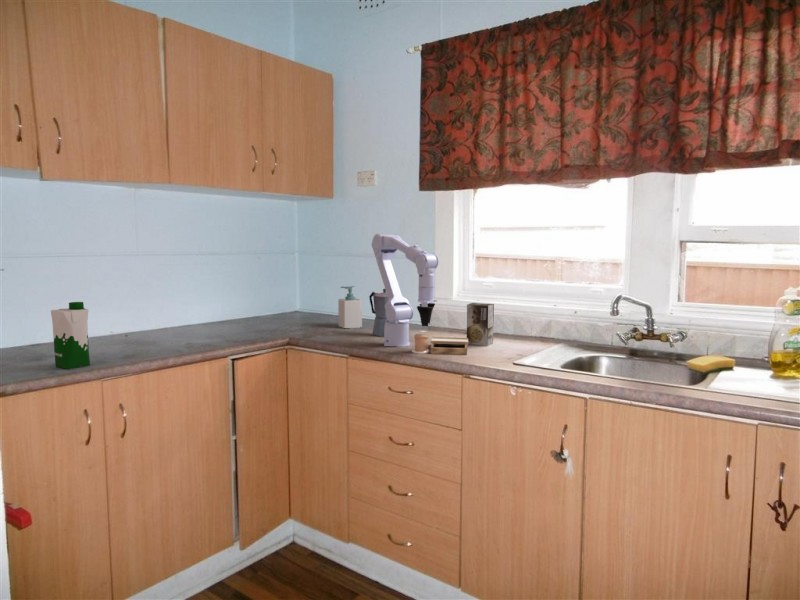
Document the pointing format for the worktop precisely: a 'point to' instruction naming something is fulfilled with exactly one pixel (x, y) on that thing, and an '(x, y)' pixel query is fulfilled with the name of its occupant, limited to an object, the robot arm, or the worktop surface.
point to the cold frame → (448, 349)
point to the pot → (420, 342)
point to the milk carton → (71, 336)
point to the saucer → (420, 352)
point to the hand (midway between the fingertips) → (425, 324)
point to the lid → (449, 340)
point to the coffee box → (480, 323)
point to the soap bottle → (350, 311)
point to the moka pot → (379, 312)
